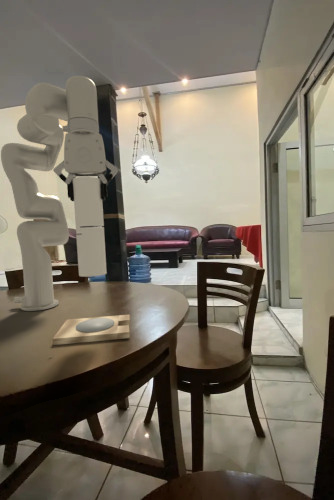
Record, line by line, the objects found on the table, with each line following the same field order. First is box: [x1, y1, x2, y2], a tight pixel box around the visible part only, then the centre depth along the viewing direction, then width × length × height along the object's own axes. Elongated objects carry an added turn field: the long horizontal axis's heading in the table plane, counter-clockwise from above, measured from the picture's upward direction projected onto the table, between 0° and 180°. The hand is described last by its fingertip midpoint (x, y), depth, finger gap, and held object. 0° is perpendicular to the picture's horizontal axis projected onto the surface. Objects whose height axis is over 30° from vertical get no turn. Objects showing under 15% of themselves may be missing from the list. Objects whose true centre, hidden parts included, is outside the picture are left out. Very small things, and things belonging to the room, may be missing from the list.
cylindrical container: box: [73, 176, 108, 278], centre depth 69 cm, size 7×7×25 cm
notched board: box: [52, 314, 131, 346], centre depth 70 cm, size 18×14×2 cm
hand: (88, 199), depth 68 cm, fingers closed on cylindrical container, 7 cm apart
